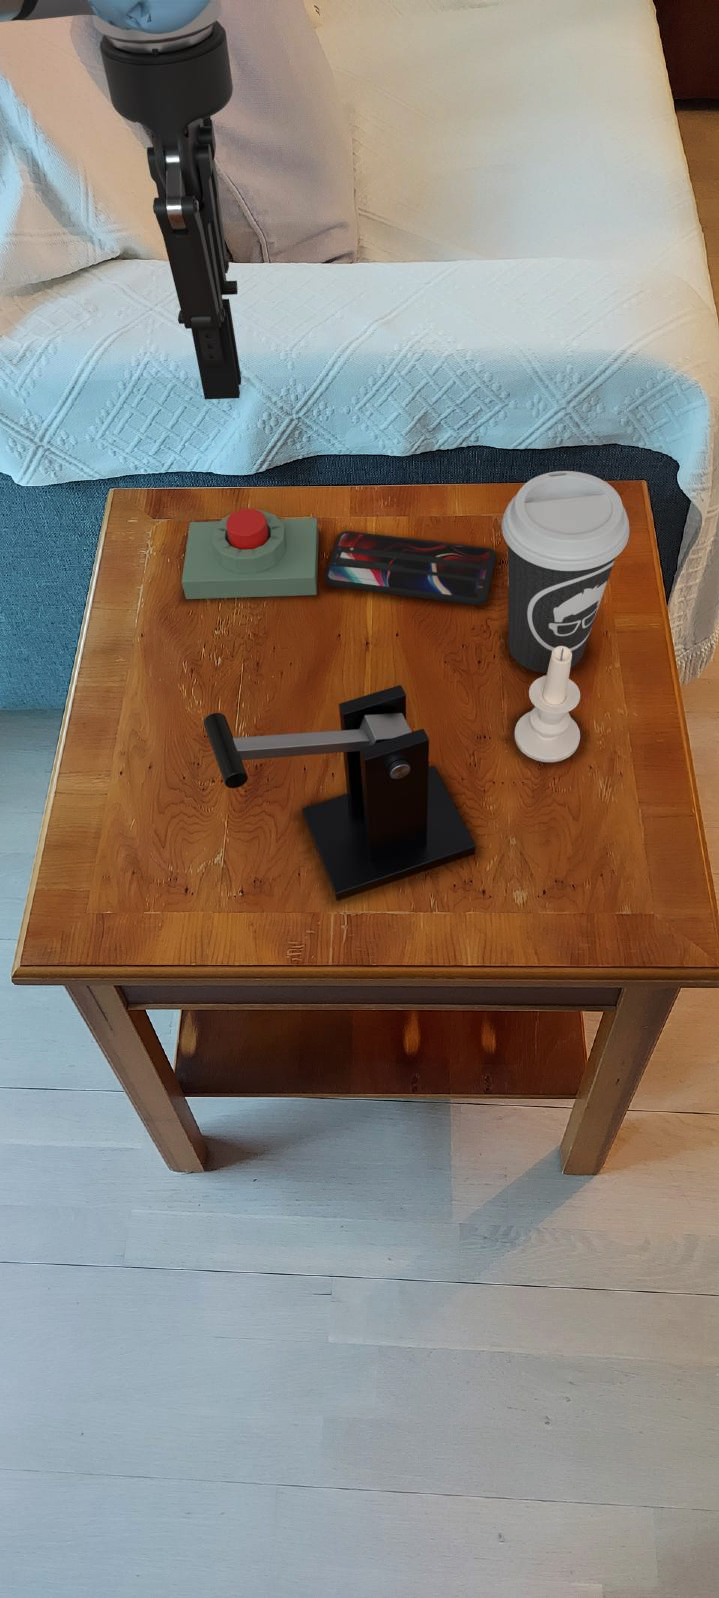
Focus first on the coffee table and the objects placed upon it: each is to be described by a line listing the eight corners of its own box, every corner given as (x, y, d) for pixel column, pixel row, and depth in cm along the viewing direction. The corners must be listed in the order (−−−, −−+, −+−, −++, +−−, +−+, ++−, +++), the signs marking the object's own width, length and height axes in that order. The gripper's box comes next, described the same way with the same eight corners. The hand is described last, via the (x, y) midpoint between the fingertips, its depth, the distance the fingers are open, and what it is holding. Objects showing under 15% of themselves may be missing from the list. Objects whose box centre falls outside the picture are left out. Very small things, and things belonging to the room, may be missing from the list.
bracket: (336, 901, 73) (322, 794, 62) (302, 816, 77) (283, 701, 66) (475, 854, 75) (486, 741, 63) (434, 773, 79) (438, 654, 68)
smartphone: (486, 602, 88) (322, 581, 91) (486, 607, 89) (322, 586, 91) (497, 547, 92) (340, 528, 95) (497, 553, 93) (340, 534, 95)
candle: (577, 766, 79) (598, 679, 70) (511, 759, 80) (523, 671, 71) (581, 715, 82) (600, 625, 73) (516, 708, 82) (529, 618, 74)
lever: (221, 794, 61) (228, 768, 59) (200, 734, 63) (206, 707, 62) (410, 776, 66) (422, 752, 64) (383, 722, 69) (394, 697, 67)
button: (227, 550, 89) (224, 535, 88) (230, 524, 91) (227, 508, 90) (267, 549, 89) (265, 534, 88) (269, 522, 91) (267, 507, 90)
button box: (185, 599, 91) (177, 566, 88) (194, 540, 96) (186, 506, 93) (316, 595, 91) (313, 561, 88) (318, 535, 95) (315, 501, 92)
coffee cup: (609, 615, 88) (641, 473, 76) (593, 696, 83) (625, 558, 70) (501, 597, 90) (516, 456, 77) (480, 676, 85) (492, 537, 72)
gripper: (214, 73, 55) (266, 443, 74) (232, -20, 63) (275, 336, 82) (78, 80, 55) (165, 447, 74) (114, -14, 63) (184, 340, 82)
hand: (223, 388), depth 78 cm, fingers closed
